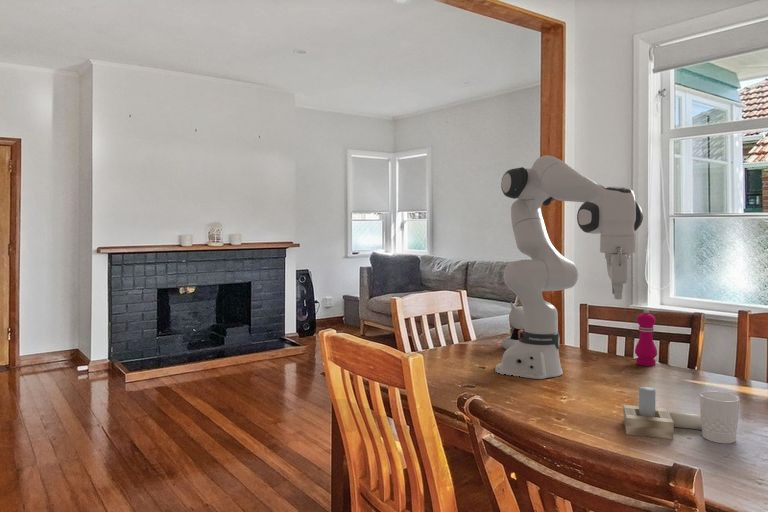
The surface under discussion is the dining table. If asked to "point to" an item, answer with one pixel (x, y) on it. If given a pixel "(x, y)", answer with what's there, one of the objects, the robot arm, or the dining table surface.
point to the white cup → (719, 416)
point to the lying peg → (686, 420)
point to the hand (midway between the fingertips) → (616, 296)
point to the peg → (647, 401)
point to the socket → (648, 423)
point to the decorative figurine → (514, 325)
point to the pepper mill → (646, 340)
